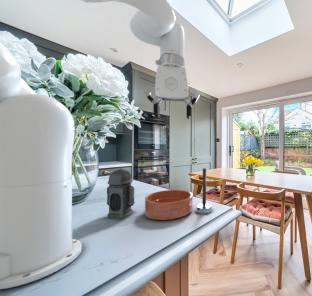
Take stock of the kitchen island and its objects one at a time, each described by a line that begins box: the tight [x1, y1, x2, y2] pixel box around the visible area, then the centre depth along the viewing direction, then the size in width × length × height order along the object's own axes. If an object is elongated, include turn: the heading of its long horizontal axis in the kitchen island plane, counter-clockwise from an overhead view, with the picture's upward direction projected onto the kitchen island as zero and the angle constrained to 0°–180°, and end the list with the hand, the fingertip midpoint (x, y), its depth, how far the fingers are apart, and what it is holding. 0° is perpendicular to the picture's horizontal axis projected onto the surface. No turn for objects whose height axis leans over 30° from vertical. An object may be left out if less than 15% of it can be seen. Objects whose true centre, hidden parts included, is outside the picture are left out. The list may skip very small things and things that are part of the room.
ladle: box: [196, 167, 213, 215], centre depth 58 cm, size 5×5×15 cm
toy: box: [106, 168, 135, 220], centre depth 54 cm, size 8×6×15 cm
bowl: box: [144, 189, 194, 221], centre depth 57 cm, size 15×15×6 cm
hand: (172, 117), depth 55 cm, fingers open, 9 cm apart
